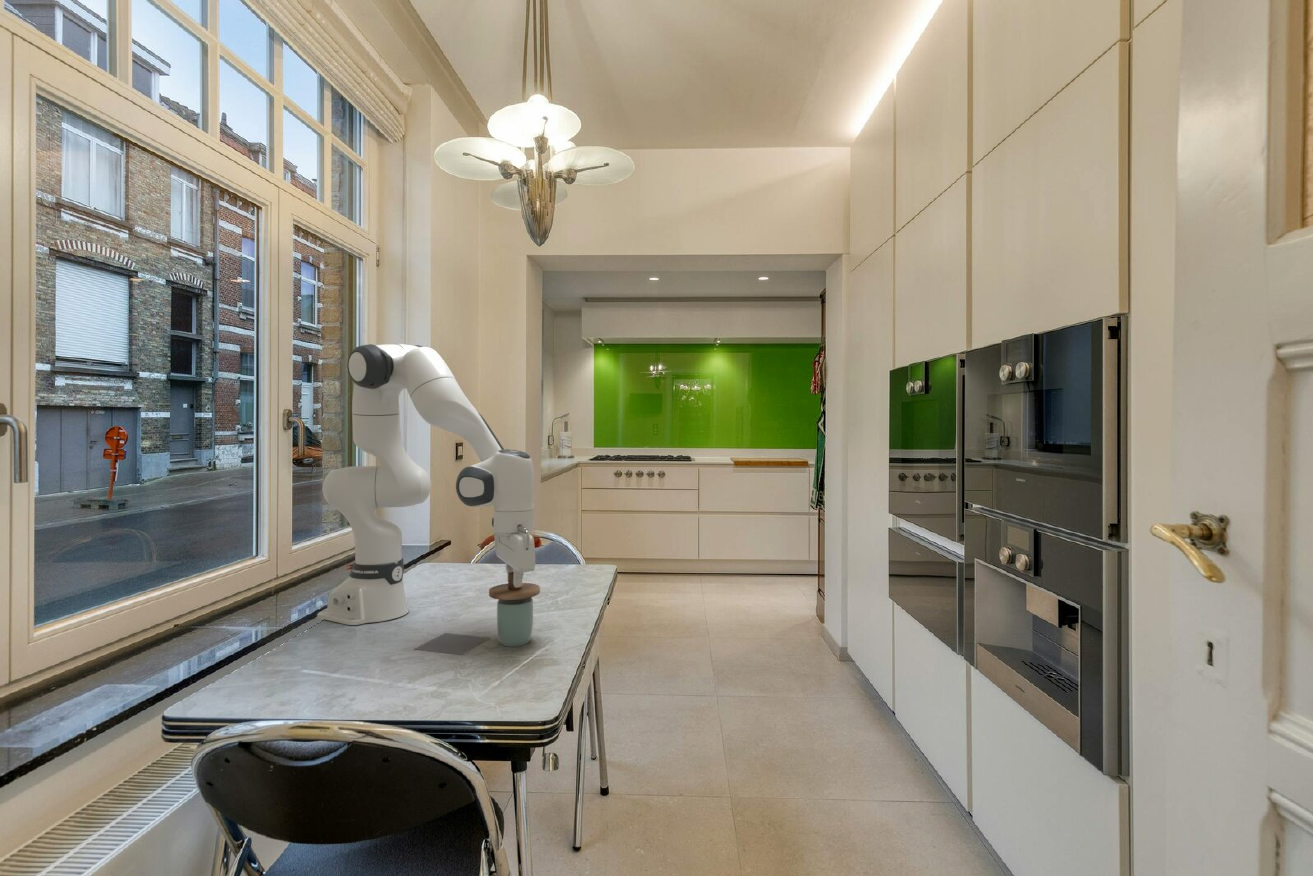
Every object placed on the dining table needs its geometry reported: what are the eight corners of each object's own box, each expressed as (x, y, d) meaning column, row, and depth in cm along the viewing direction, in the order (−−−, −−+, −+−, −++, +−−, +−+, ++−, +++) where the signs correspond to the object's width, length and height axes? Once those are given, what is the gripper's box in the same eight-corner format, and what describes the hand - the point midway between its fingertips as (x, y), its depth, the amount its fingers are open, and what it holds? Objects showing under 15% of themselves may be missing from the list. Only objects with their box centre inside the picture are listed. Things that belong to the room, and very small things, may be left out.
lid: (478, 596, 129) (478, 576, 129) (510, 585, 139) (510, 566, 139) (519, 602, 124) (519, 580, 124) (549, 590, 134) (549, 570, 134)
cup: (537, 639, 135) (537, 595, 135) (526, 651, 127) (526, 605, 127) (504, 638, 136) (504, 595, 136) (491, 650, 128) (491, 604, 128)
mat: (413, 652, 127) (413, 649, 127) (445, 635, 138) (445, 632, 138) (461, 657, 124) (461, 654, 124) (490, 640, 134) (490, 637, 134)
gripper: (542, 527, 124) (543, 593, 124) (516, 516, 142) (516, 573, 142) (512, 530, 121) (513, 597, 121) (489, 518, 139) (489, 577, 139)
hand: (514, 584), depth 131 cm, fingers closed on lid, 3 cm apart
